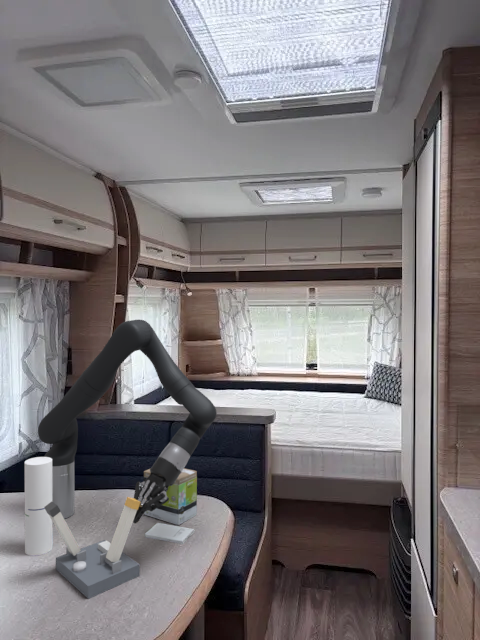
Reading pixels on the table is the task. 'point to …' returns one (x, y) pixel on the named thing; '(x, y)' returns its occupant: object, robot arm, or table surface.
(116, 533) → the amber lever
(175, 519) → the tea box
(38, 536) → the cylindrical container
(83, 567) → the switch panel
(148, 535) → the external hard drive
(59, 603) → the table surface
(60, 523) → the black lever
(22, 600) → the table surface
